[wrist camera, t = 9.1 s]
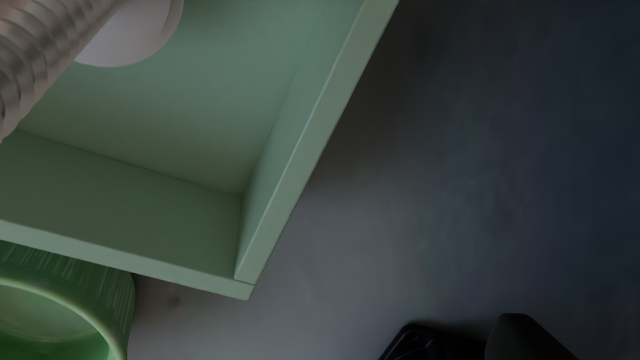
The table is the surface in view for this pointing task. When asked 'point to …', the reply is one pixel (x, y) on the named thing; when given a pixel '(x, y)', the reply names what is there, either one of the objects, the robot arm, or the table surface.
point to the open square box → (189, 141)
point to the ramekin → (62, 307)
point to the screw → (72, 43)
